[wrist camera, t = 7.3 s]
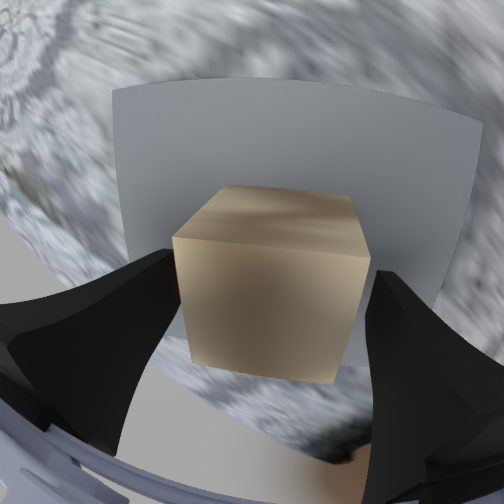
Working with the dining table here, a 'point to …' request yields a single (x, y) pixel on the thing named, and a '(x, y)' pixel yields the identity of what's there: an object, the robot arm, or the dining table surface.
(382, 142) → the slate board
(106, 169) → the dining table surface
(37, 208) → the dining table surface
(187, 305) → the maple block
